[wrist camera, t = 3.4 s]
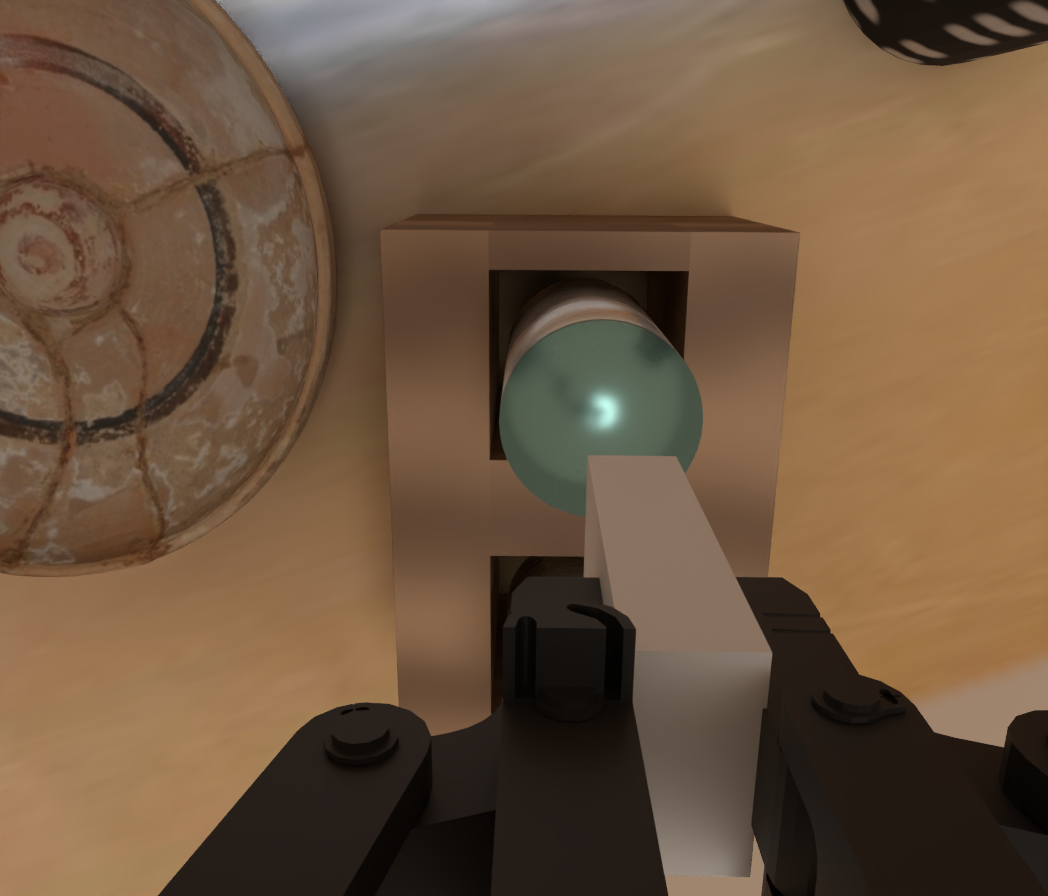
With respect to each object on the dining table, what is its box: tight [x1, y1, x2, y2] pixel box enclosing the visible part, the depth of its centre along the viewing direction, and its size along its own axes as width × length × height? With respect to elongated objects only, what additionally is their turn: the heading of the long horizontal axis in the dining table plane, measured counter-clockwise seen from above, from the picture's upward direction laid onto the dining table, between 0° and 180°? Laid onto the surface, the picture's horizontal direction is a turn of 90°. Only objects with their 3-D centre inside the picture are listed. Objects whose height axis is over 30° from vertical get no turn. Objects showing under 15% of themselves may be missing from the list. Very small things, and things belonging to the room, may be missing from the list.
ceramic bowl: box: [0, 0, 337, 577], centre depth 33 cm, size 23×24×5 cm
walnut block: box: [380, 214, 800, 736], centre depth 33 cm, size 17×12×9 cm
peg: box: [499, 278, 703, 517], centre depth 25 cm, size 5×5×8 cm
